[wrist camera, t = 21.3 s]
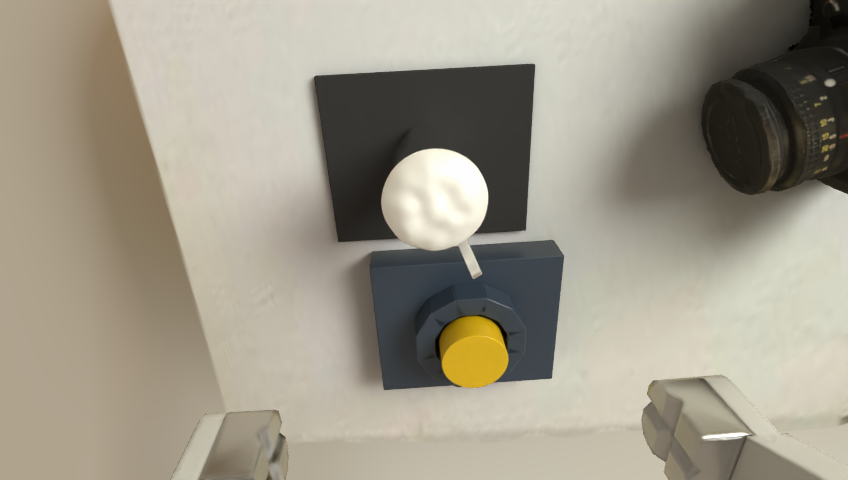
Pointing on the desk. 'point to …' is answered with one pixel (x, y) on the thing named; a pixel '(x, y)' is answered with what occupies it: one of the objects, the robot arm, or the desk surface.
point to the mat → (417, 105)
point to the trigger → (473, 352)
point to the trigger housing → (465, 307)
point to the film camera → (786, 112)
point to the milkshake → (434, 194)
